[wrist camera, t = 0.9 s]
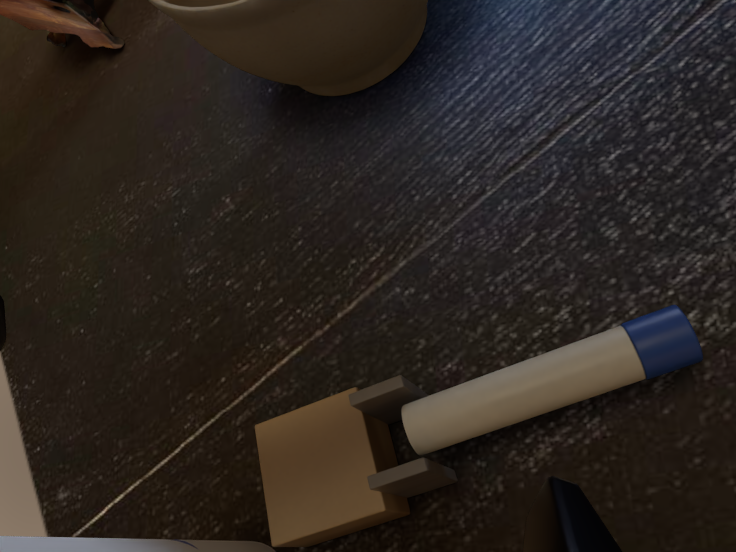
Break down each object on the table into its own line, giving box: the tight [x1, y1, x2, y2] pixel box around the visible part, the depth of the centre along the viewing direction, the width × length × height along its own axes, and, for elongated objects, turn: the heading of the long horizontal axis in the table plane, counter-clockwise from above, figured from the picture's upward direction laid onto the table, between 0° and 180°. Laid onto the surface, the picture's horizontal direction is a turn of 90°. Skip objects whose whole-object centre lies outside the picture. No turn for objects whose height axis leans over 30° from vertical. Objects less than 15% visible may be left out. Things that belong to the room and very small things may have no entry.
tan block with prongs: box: [255, 375, 458, 547], centre depth 25 cm, size 5×7×4 cm
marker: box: [401, 305, 703, 455], centre depth 22 cm, size 2×10×2 cm, turn 104°
